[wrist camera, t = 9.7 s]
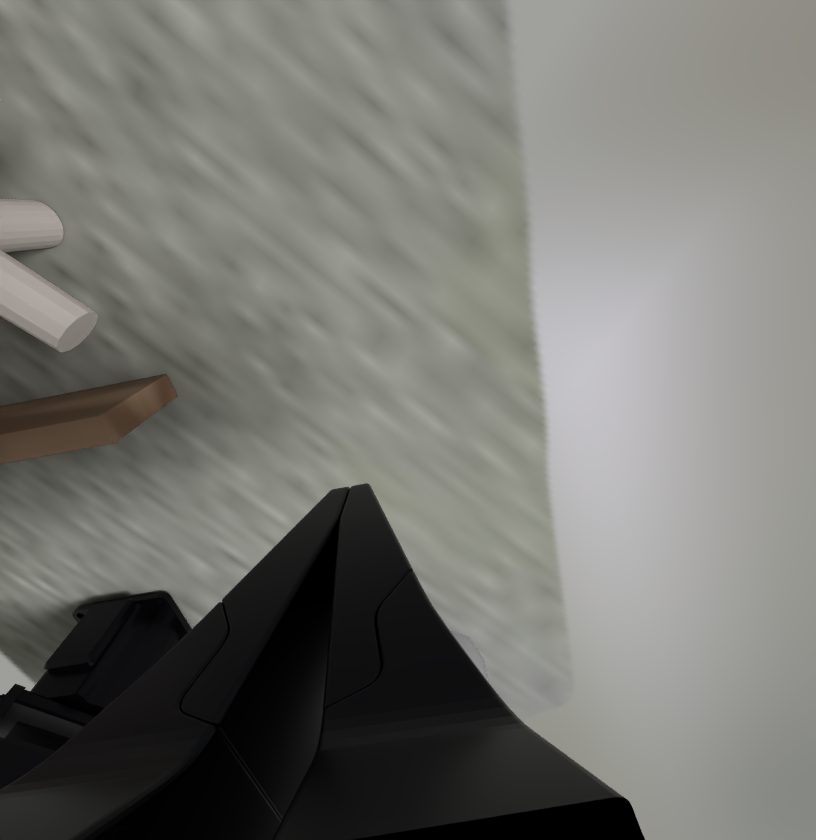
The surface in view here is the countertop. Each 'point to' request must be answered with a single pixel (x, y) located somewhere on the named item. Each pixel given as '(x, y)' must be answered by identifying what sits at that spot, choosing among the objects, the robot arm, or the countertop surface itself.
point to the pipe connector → (37, 279)
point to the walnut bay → (79, 418)
